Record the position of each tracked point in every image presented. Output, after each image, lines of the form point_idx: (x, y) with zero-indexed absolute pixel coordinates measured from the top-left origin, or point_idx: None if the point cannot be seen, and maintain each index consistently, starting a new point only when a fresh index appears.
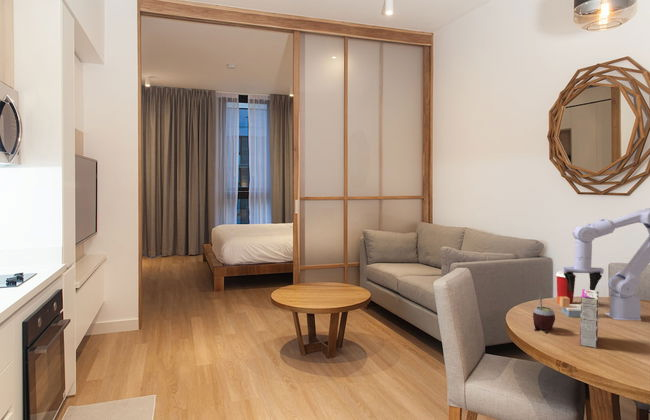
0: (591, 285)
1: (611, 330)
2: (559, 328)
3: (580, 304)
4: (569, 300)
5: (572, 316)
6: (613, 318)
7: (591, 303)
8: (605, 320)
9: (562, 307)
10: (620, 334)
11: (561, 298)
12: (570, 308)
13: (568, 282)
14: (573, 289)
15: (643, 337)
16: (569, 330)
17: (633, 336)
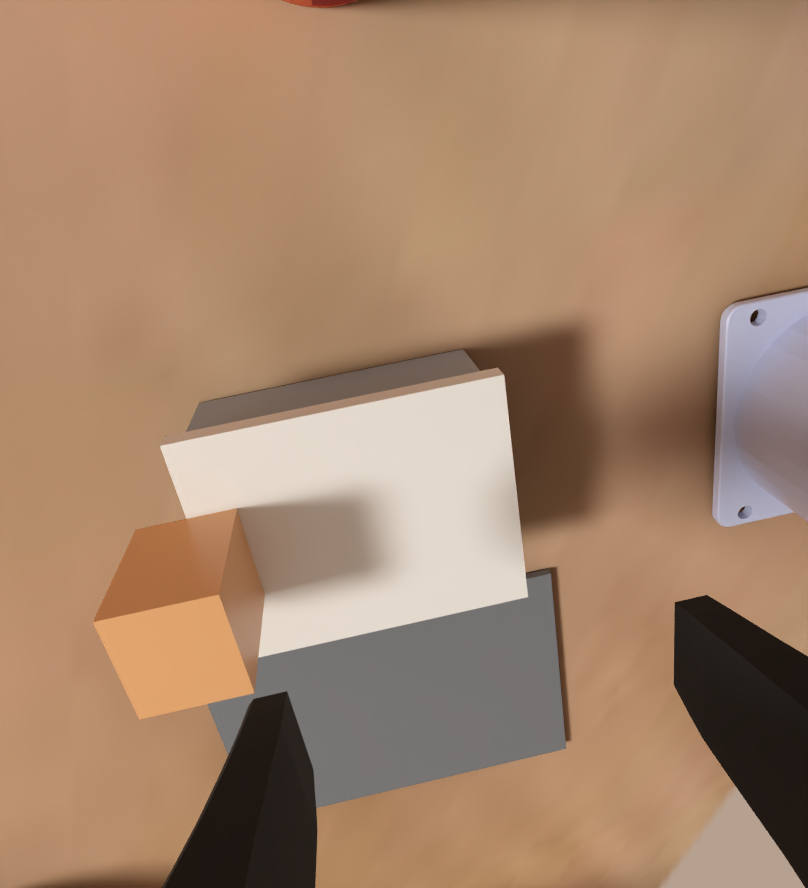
0: (758, 738)
1: (547, 771)
2: (138, 861)
3: (460, 387)
4: (252, 671)
5: None
6: (716, 502)
7: None
8: (618, 536)
9: None
10: (574, 824)
11: (125, 666)
12: (271, 628)
13: (195, 884)
14: (309, 826)
15: (701, 824)
16: None
17: (644, 829)
